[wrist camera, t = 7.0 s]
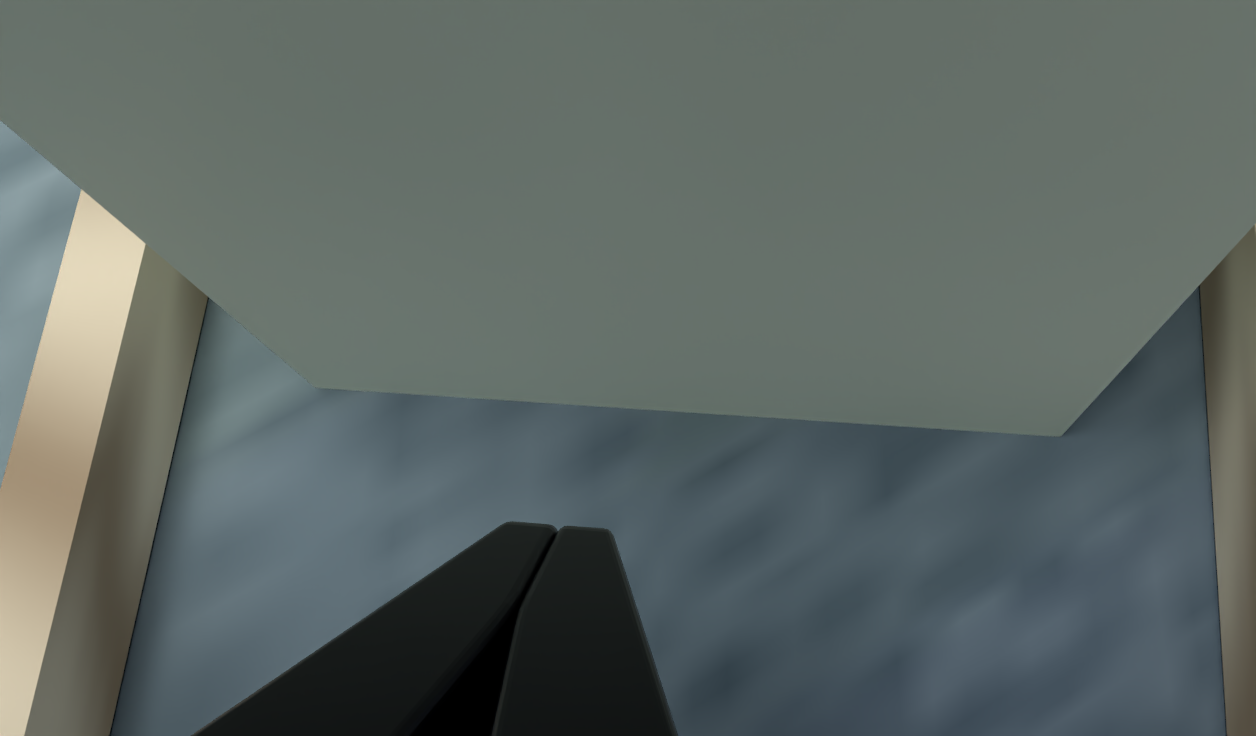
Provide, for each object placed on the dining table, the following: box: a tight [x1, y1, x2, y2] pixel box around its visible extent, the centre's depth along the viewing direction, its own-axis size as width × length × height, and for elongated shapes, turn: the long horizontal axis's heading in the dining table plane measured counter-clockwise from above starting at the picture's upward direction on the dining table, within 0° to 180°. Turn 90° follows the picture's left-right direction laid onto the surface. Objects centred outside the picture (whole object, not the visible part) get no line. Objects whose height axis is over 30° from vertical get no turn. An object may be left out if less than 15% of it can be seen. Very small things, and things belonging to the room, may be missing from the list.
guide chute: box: [0, 189, 1256, 736], centre depth 16 cm, size 21×17×4 cm
